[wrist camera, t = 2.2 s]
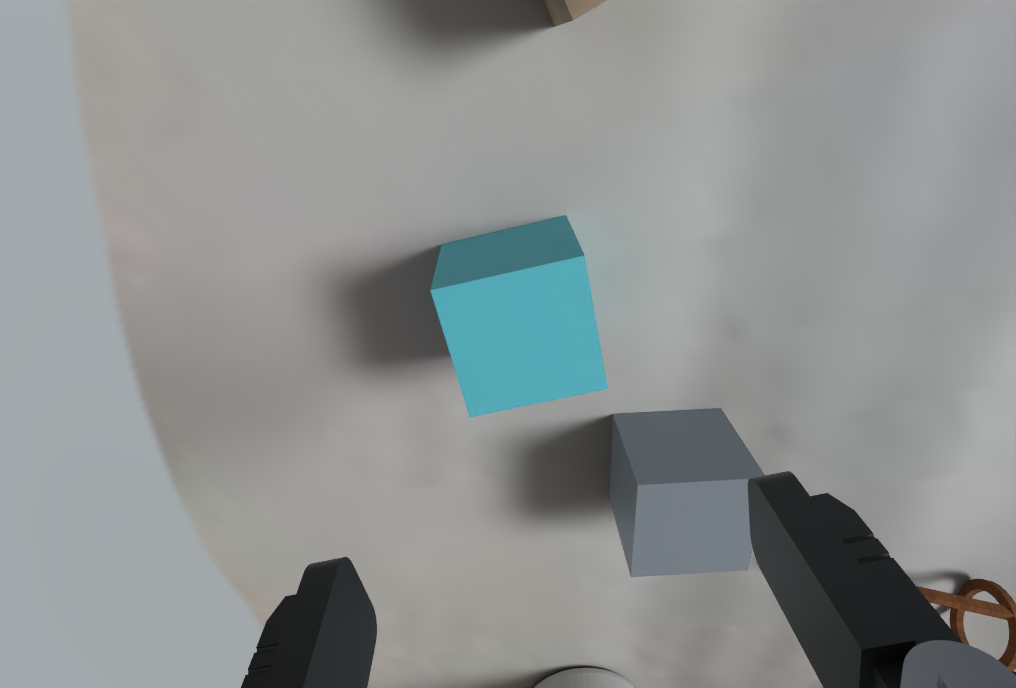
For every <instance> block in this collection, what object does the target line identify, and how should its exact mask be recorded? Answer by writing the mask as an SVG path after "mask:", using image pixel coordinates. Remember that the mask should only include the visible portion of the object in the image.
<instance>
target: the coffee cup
mask: <svg viewBox="0 0 1016 688" xmlns="http://www.w3.org/2000/svg"><path fill="white" fill-rule="evenodd" d="M534 688H635V687H634V686H633V685H632V684H631V683H630V682H629V681H628V680H627V679H625V678H624V677H622V676H621V675H619V674H616V673H614V672H611V671H608V670H604V669H598V668H574V669H570V670H565V671H561V672H558V673H556V674H553V675H551V676H549V677H547V678H545V679H544V680H542V681H541V682H540V683H538V684H537V685H536V686H535V687H534Z"/></svg>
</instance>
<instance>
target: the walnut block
mask: <svg viewBox="0 0 1016 688" xmlns="http://www.w3.org/2000/svg"><path fill="white" fill-rule="evenodd" d="M543 1H544V4H545V6H546V8H547V11H548V13H549V15H550V18H551V20H552V22H553V25H554V27H555V26H558V25H560V24H563V23H566V22H569V21H572V20H574V19H576V18H578V17H579V16H581V15H583V14H584V13H586V12H588V11H589V10H591V9H593V8H595V7H596V6H598V5H600V4H601V3H603V2H605V1H606V0H543Z"/></svg>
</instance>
